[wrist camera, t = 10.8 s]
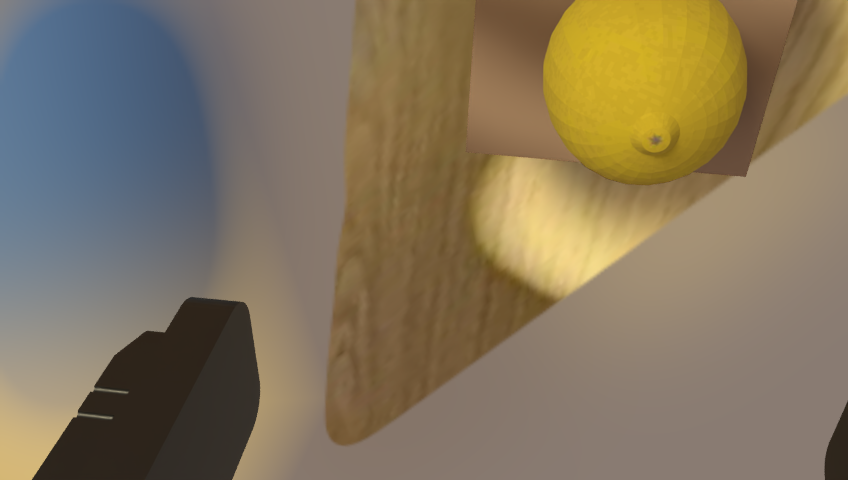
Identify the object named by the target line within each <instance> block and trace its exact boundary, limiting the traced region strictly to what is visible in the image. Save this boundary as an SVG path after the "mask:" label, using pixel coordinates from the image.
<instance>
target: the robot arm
mask: <svg viewBox="0 0 848 480" xmlns="http://www.w3.org/2000/svg"><path fill="white" fill-rule="evenodd" d="M94 387H95V388H94V391H93V392H90V393H89V395H88V396H87V398H86V399H85V401H84V402H83V404H82V405H81V407H80V408H79V410H78V415H77V417H76V418H73V419H72V420H71V422H70V423H69V425H68V426H67V428H66V429H65V431H64V432H63V434H62V435H61V437H60V438H59V440H58V441H57V443H56V444H55V446H54V447H53V449H52V450H51V452H50V453H49V455H48V456H47V458H46V459H45V461H44V462H43V464H42V465H41V467H40V468H39V470H38V471H37V473H36V474H35V476H34V477H33V479H32V480H232V479H233V476H234V473H235V471H236V469H237V466H238V464H239V461H240V459H241V456H242V454H243V452H244V449H245V447H246V444H247V442H248V440H249V437H250V435H251V432H252V430H253V427H254V424H255V421H256V417H257V413H258V407H259V399H260V381H259V374H258V367H257V361H256V354H255V347H254V340H253V334H252V327H251V320H250V314H249V310H248V307H247V305H246V304H245V303H244V302H237V301H227V300H217V299H206V298H195V297H190V298H188V299H186V300H185V301H184V303H183V304H182V305H181V307H180V309H179V310H178V312H177V314H176V315H175V317H174V319H173V320H172V322H171V323H170V325H169V327H168V328H167V330H166V332H165V333H163V332H154V331H146V332H144V333H143V334H142V335H140V336H139V337H138V338H136V339H135V340H134V341H133V342H131V343H130V344H129V345H127V346H126V347H125V348H124V349H122V350H121V351H120V352H118V353H117V354H116V355H114V357H113V359H112V360H111V362H110V363H109V365H108V366H107V368H106V369H105V371H104V372H103V374H102V375H101V377H100V378H99V380H98V381H97V383H96V384H95V386H94ZM825 480H848V402H847V404H846V407H845V409H844V411H843V413H842V415H841V418H840V420H839V422H838V424H837V427H836V429H835V431H834V433H833V436H832V438H831V440H830V442H829V445H828V448H827V452H826V458H825Z"/></svg>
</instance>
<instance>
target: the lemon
mask: <svg viewBox="0 0 848 480" xmlns="http://www.w3.org/2000/svg"><path fill="white" fill-rule="evenodd" d="M543 93H544V98H545V101H546V105H547V109H548V112H549V116H550V120H551V122H552V124H553V126H554V128H555V130H556V131H557V133H558V135H559V136H560V138H561V140H562V142H563V143H564V145H565V146H566V148H567V149H568V150H569V151H570V152H571V153H572V154H573V155H574V156H575V157H576V158H577V159H578V160H579V161H580V162H581V163H582V164H583V165H584V166H585V167H587V168H589V169H590V170H592V171H594V172H596V173H598V174H599V175H601V176H603V177H605V178H607V179H610V180H614V181H617V182H621V183H624V184H635V185H652V184H659V183H665V182H670V181H672V180H675V179H678V178H680V177H683V176H686V175H688V174H690V173H692V172H693V171H695V170H697V169H698V168H700V167H701V166H703V165H704V164H706V163H708V162H709V161H710V160H711V159H712V158H713V157H714V156H715V155H716V154H717V153H718V152H719V151H720V150H721V149H722V148H723V147H724V145H725V143H726V142H727V140H728V139H729V137H730V135H731V134H732V132H733V131H734V129H735V127H736V126H737V124H738V121H739V118H740V115H741V112H742V108H743V105H744V102H745V99H746V93H747V59H746V54H745V50H744V47H743V43H742V39H741V36H740V32H739V30H738V28H737V26H736V24H735V23H734V21H733V20H732V18H731V17H730V15H729V14H728V12H727V10H726V9H725V7H724V6H723V4H722V3H721V2H720V1H719V0H575V1H574V2H573V4H572V5H571V6H570V7H569V8H568V9H567V10H566V11H565V12H564V14H563V16H562V17H561V19H560V21H559V23H558V24H557V26H556V28H555V29H554V31H553V33H552V35H551V38H550V41H549V45H548V48H547V52H546V55H545V59H544V64H543Z"/></svg>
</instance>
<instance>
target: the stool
mask: <svg viewBox="0 0 848 480" xmlns="http://www.w3.org/2000/svg"><path fill="white" fill-rule="evenodd" d="M574 1H575V0H476V5H475V21H474V36H473V51H472V66H471V82H470V97H469V112H468V127H467V143H466V152H471V153H482V154H494V155H505V156H517V157H528V158H539V159H551V160H562V161H573V162H580V161H579V160H578V159H577V158H576V157H575V156H574V155H573V154H572V153H571V152H570V151H569V150H568V149H567V148H566V146H565V145H564V143H563V142H562V140H561V138H560V136H559V135H558V133H557V131H556V130H555V128H554V126H553V124H552V122H551V120H550V116H549V112H548V109H547V105H546V101H545V98H544V93H543V64H544V59H545V55H546V52H547V48H548V45H549V41H550V38H551V35H552V33H553V31H554V29H555V28H556V26H557V24H558V23H559V21H560V19H561V17H562V16H563V14H564V12H565V11H566V10H567V9H568V8H569V7H570V6H571V5H572V4H573V2H574ZM719 1H720V2H721V3H722V4H723V6H724V7H725V9H726V10H727V12H728V14H729V15H730V17H731V18H732V20H733V21H734V23H735V24H736V26H737V28H738V30H739V32H740V36H741V39H742V43H743V47H744V50H745V54H746V59H747V93H746V99H745V102H744V105H743V108H742V112H741V115H740V118H739V121H738V124H737V126H736V127H735V129H734V131H733V132H732V134H731V135H730V137H729V139H728V140H727V142H726V143H725V145H724V147H723V148H722V149H721V150H720V151H719V152H718V153H717V154H716V155H715V156H714V157H713V158H712V159H711V160H710V161H709V162H708V163H706V164H704V165H703V166H701V167H700V168H698V169H697V170H695V171H693V172H698V173H709V174H721V175H732V176H744V177H745V176H746V174H747V171H748V167H749V164H750V161H751V157H752V154H753V150H754V147H755V144H756V140H757V137H758V133H759V130H760V127H761V123H762V120H763V117H764V113H765V110H766V106H767V103H768V100H769V96H770V93H771V89H772V86H773V83H774V79H775V76H776V73H777V69H778V66H779V62H780V59H781V56H782V52H783V49H784V45H785V42H786V39H787V35H788V32H789V29H790V25H791V22H792V18H793V15H794V12H795V8H796V5H797V2H798V0H719Z"/></svg>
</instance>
